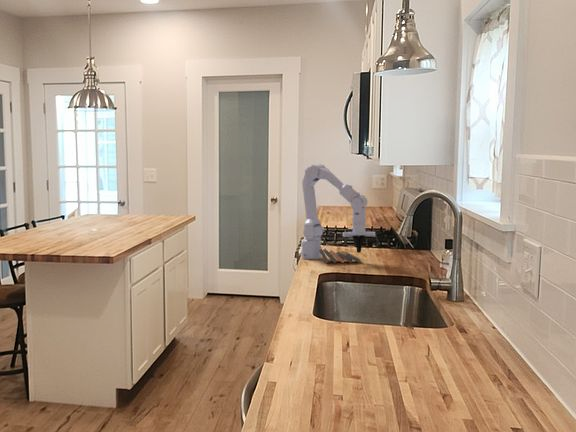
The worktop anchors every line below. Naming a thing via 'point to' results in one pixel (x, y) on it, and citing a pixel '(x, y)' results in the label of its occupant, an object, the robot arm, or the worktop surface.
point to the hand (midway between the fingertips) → (358, 252)
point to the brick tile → (336, 256)
